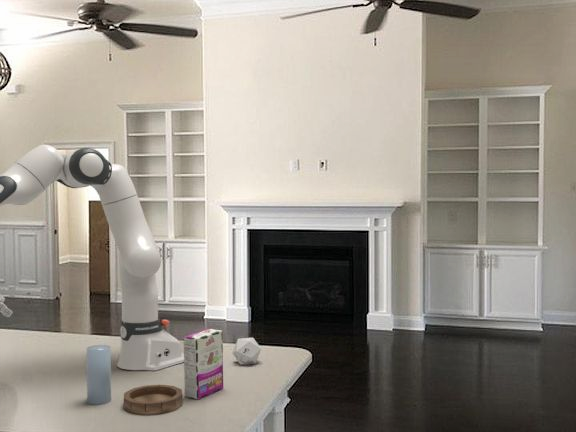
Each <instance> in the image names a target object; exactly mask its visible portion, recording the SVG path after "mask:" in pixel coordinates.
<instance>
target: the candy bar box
mask: <svg viewBox="0 0 576 432" xmlns="http://www.w3.org/2000/svg"><path fill="white" fill-rule="evenodd" d="M223 349H224V347H223V330H221V329H216V328H215V329H214V328H207V329H205V330H201V331H199V332H196V333H192V334H189V335H186V336H183V353H184V362H183V363H184V366H183V367H184V368H183V370H184V371H183V373H184V396H185V397H186V398H188V399H194V400H201V399H202V398H205V397H208V396H210V395H212V394H213V393H216V392H219V391H221V390H222V389H224V361H223V358H224V357H223V356H224V355H223V354H224V352H223V351H224V350H223Z"/></svg>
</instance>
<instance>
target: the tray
mask: <svg viewBox="0 0 576 432" xmlns="http://www.w3.org/2000/svg"><path fill="white" fill-rule="evenodd" d="M183 404H184V403H183V390H182V388H179V387H176V386H175V385H169V384H168V385H167V384H150V385H149V384H148V385H146V384H145V385H141V386H138V387H133V388H131V389H129V390H128V391H126V392H124V394H123V409H124V410H125V411H126V412H127V413H131V414H134V415H140V416H141V415H143V416H145V415H146V416H150V415H161V414H166V413H170V412H173V411H175V410H178V409H179V408H181V406H183Z"/></svg>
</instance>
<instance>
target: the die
mask: <svg viewBox="0 0 576 432" xmlns="http://www.w3.org/2000/svg"><path fill="white" fill-rule="evenodd" d="M261 351H262V347H260V345H259V343H258V342H257V341H256V340H255V338H254V337H246V338H245V337H244V338H237V340H236V342H235V346H234V348H233V351H232V355H233V356H234V358H235V360H237V362H238V364H239V365H240V366H243V365H253V364H257V361H258V359H259V356H260V353H261Z"/></svg>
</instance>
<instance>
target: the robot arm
mask: <svg viewBox="0 0 576 432" xmlns="http://www.w3.org/2000/svg"><path fill="white" fill-rule="evenodd" d="M55 182H58V183H59V184H61V185H63V186H65V187H67V188H71V189H79V188H80V189H83V188H86V187H92V188H93V189H94V190H95V191H96V193H97V195H98V196H99V200H100V204H101V206H102V209H103V211H104V215H105V218H106V221H107V223H108V226H109V230H110V232H111V234H112V237H113V239H114V241H115V244H116V247H117V248H118V249H117V250H118V251H119V254H118V258H119V260H118V261H119V278H120V290H121V291H120V292H121V320H120V339H121V342H120V351H119V356H118V359H117V363H116V367H118V368H120V369H123V370H129V371H159V370H162V369H166V368H168V367H171V366H175V365H177V364H181V363H184V352H182V346H181V342H180V341H179V340H178V339H177V338H176V337H174V336H173V335H171V334H170V333H169V332H167V331H166V330H165V329H164V327H165V328H166V327H169V325H170V321H169V320H168V319H161V318H159V294H158V288H157V279H156V273H157V272H158V271H159V270H160V268H161V264H162V256H161V253H160V251H159V249H158V245H157V243H156V241H155V238H154V235H153V233H152V231H151V228H150V226H149V224H148V222H147V219H146V216H145V213H144V210H143V207H142V204H141V202H140V198H139V195H138V193H137V190H136V188H135V184H134V182H133V180H132V178H131V176H130V175H129V173H128V171H127V169H126V168H125V167H124V166H123V165H121V164H118V163H110V161H109V160H108V159H106V157H105V156H104V155H103V154H102V153H101V152H100V151H98V150H96V149H95V148H91V147H81V148H79V149H76V150H73V151H70V152H68V153H66V154H63V153H62V152H60V151H59V150H58V149H57V148H55V146H52V145H49V144H39V145H37V146H36V147H35V148H33V149H31V150H30V151H28V152H26V153H25V154H24V155H22V156H21V157H20V158H18V160H16V161H15V162H14V163H12V164H11V165H10V166H9V167H8V168H7V169H5V171H3V172H2V173H1V174H0V207H1V206H4V205H9V204H10V205H13V206H25V205H28V204H29V203H31V202H33V201H35V200H36V199H37V198H38V197H39V196H40V195H42V194H43V193H44V192H45V191H46V190H47V188H48V187H50V186H51V185H52V184H53V183H55ZM5 301H6V298H5V296H4V295H2V293H0V313H1V315H2V316H4V317H6V318H10V317H11V316H12V314H13V310H11V309H10V308H8V306H7V305H6V304H5ZM163 326H164V327H163Z"/></svg>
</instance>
